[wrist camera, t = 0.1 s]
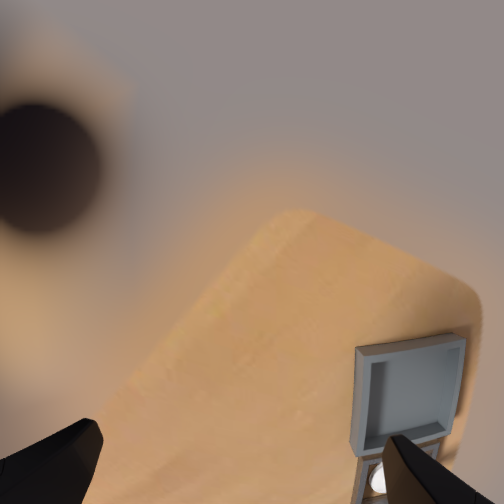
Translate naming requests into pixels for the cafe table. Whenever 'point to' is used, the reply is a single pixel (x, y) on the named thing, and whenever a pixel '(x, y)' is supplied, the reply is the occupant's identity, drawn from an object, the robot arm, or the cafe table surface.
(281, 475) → the cafe table surface
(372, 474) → the chess piece
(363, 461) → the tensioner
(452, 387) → the tray
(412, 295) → the cafe table surface
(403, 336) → the cafe table surface
